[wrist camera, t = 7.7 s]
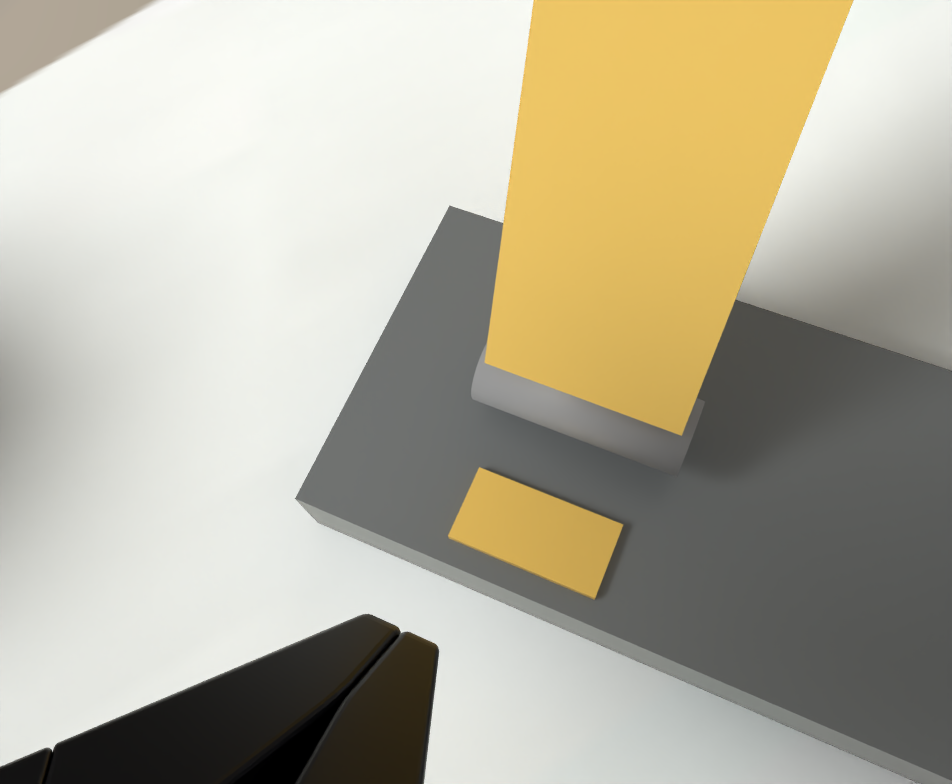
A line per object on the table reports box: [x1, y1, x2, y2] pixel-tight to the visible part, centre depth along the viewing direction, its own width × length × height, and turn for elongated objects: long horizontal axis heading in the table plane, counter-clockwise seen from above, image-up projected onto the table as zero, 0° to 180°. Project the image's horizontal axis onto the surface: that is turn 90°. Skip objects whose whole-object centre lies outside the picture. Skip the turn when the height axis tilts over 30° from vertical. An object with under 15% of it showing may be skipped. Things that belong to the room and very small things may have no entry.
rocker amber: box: [471, 0, 853, 477], centre depth 14 cm, size 2×4×11 cm, turn 66°
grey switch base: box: [295, 206, 952, 784], centre depth 18 cm, size 21×8×2 cm, turn 66°
